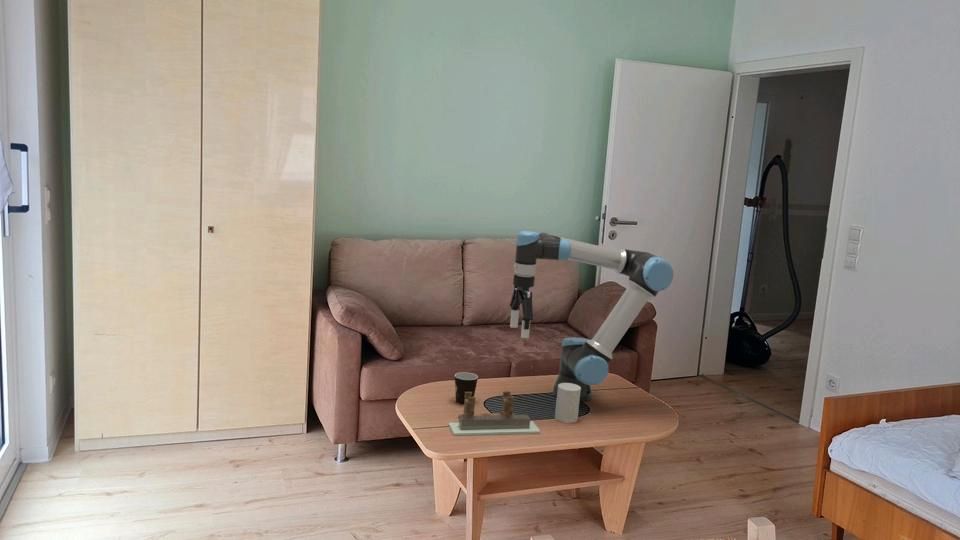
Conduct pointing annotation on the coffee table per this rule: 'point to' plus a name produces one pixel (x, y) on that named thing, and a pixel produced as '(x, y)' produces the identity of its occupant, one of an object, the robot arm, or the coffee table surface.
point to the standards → (506, 410)
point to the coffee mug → (464, 385)
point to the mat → (493, 430)
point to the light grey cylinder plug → (567, 402)
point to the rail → (494, 422)
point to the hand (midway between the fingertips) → (519, 332)
